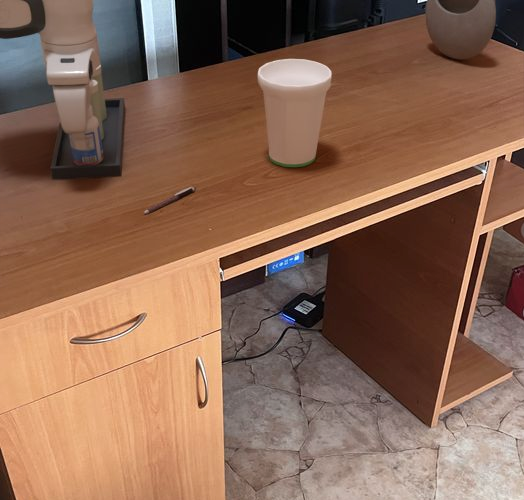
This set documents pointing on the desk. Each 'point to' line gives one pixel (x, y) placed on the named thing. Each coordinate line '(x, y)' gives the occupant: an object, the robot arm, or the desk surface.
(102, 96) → the bottle back
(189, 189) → the pen
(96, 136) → the pill bottle
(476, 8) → the planter
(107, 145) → the tray
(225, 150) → the desk surface
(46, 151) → the desk surface
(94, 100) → the bottle mid
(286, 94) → the cup
